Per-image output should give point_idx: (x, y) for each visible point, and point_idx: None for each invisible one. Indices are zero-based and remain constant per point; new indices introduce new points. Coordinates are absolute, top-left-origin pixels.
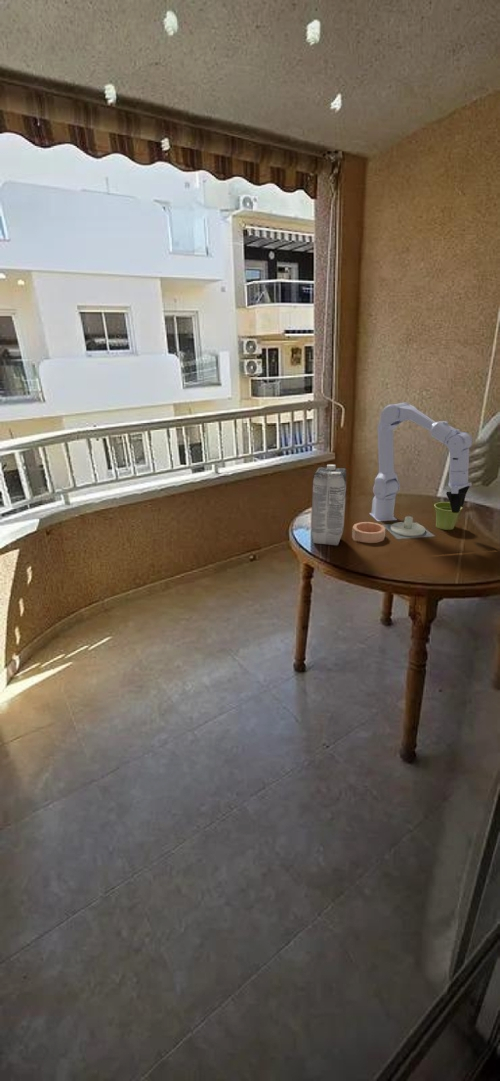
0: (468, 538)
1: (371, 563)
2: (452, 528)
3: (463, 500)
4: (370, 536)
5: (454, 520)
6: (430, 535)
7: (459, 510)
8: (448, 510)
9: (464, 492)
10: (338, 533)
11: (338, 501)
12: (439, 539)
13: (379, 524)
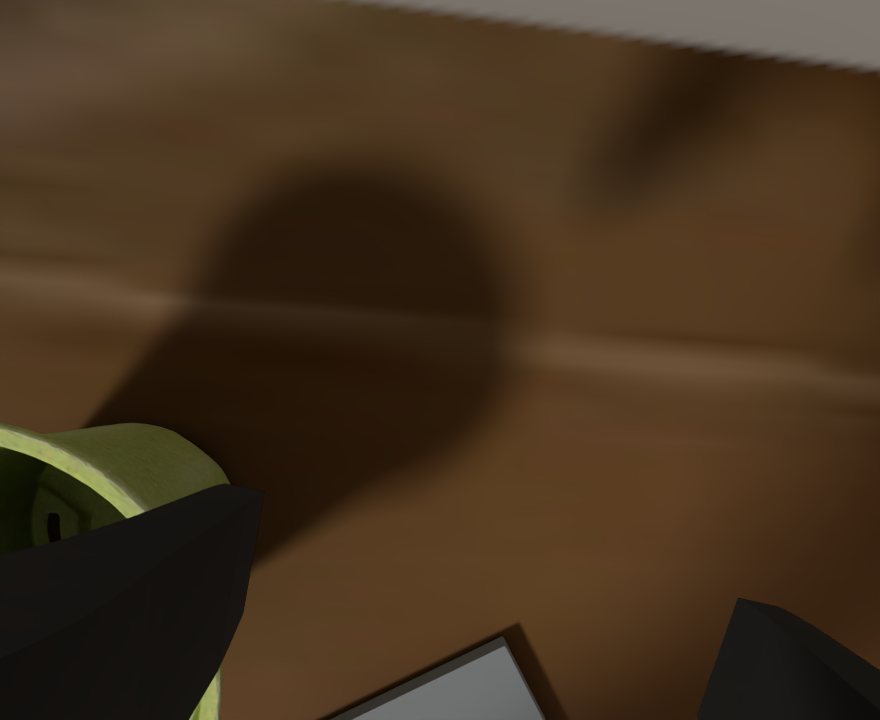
0: (416, 270)
1: None
2: (192, 446)
3: (201, 551)
4: None
5: (167, 471)
6: (497, 695)
7: (816, 628)
8: (220, 683)
9: (52, 706)
10: None
11: None
12: (539, 588)
13: None
